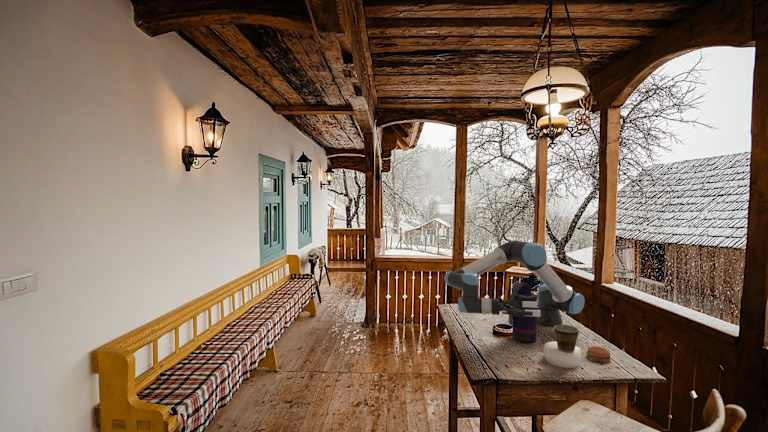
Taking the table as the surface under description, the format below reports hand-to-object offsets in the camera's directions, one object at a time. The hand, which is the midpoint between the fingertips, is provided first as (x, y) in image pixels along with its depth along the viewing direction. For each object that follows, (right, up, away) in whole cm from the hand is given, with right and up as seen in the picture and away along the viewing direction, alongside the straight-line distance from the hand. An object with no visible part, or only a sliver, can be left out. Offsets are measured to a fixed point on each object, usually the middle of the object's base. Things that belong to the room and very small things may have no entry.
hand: (538, 309), depth 172 cm
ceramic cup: (+9, -18, -5) cm, 20 cm away
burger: (+28, -23, +1) cm, 37 cm away
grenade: (+1, -22, +24) cm, 33 cm away
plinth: (+10, -23, -2) cm, 25 cm away
